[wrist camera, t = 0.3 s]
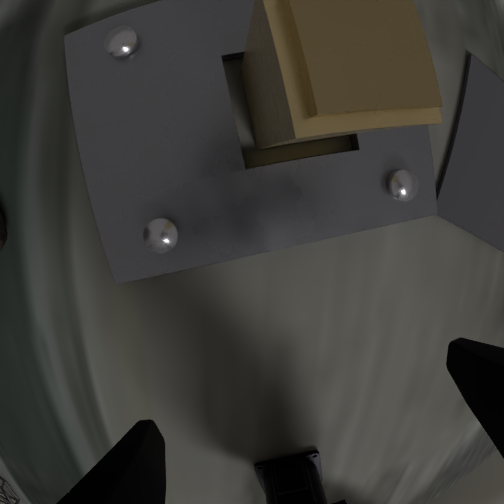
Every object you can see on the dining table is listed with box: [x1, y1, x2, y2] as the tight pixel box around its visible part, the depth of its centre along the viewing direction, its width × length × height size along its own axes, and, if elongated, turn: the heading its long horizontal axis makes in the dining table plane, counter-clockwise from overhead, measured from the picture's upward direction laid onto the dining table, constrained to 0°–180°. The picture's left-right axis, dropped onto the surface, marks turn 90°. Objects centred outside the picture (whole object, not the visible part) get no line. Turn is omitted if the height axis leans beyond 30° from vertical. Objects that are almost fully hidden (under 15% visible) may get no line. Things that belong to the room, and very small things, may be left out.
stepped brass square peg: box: [241, 0, 443, 150], centre depth 12 cm, size 5×5×12 cm
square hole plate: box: [64, 0, 437, 285], centre depth 17 cm, size 17×22×2 cm
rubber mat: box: [436, 54, 504, 252], centre depth 20 cm, size 14×10×1 cm
